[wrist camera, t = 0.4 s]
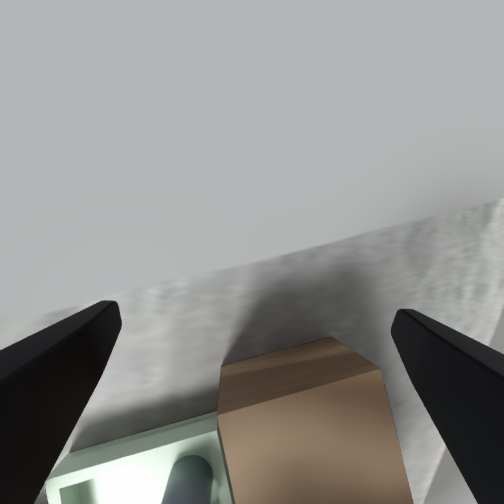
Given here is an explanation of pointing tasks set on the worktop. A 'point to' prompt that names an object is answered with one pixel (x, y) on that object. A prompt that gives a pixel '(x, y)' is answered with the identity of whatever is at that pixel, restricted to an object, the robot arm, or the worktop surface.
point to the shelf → (310, 429)
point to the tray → (140, 465)
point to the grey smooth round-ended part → (189, 482)
